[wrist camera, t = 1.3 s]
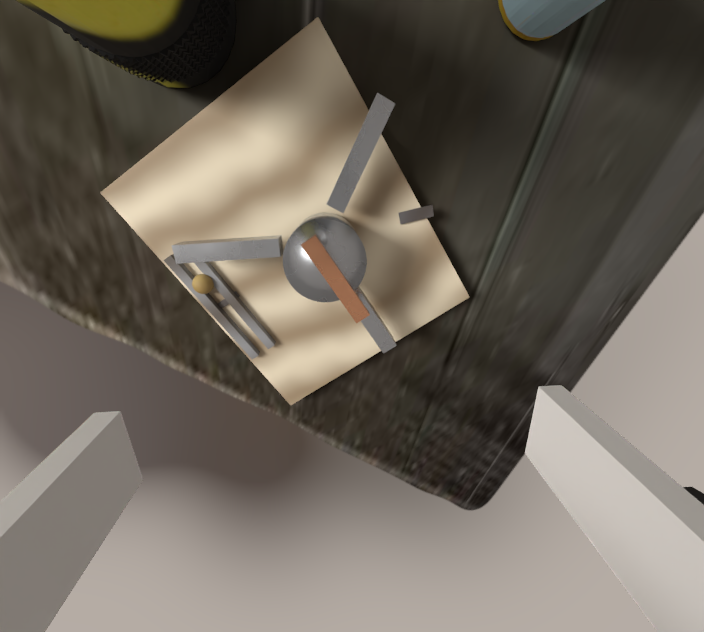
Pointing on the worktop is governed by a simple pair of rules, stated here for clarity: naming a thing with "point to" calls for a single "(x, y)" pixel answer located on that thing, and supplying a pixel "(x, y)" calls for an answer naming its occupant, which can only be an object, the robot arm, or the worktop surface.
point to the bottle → (542, 16)
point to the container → (150, 34)
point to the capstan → (318, 241)
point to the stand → (288, 215)
